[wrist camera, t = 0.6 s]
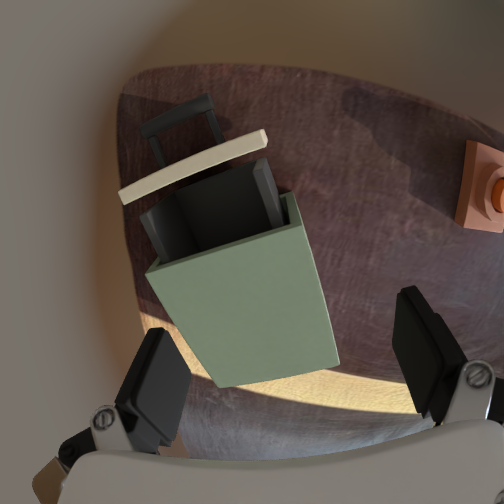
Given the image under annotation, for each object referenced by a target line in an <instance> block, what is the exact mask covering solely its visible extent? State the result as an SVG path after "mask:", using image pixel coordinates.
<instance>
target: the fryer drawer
mask: <svg viewBox="0 0 504 504" xmlns="http://www.w3.org/2000/svg"><path fill="white" fill-rule="evenodd" d="M214 108H215V105H214V102H213V99H212V97H211V96H210V94H209V93H205V94H203V95H201V96H198V97H196V98H194V99H192V100H189V101H187V102H185V103H183V104H181V105H179V106H177V107H174V108H172V109H170V110H168V111H166V112H164V113H162V114H160V115H158V116H157V117H155V118H153V119H151V120H149V121H147V122H145V123H143V124H142V125H140V132H141V134H142V136H143V137H144V138H145V139H148V140H149V143H150V145H151V148H152V150H153V153H154V155H155V157H156V160H157V162H158V165H159V167H160V169H161V170H159V171H157V172H155V173H153V174H151V175H149V176H146V177H144V178H142V179H140V180H138V181H136V182H134V183H133V184H131V185H129V186H127V187H125V188H123V189H121V190H119V191H118V194H119V196H120V198H121V200H122V203H123V205H125V204H127V203H129V202H131V201H134V200H136V199H138V198H140V197H142V196H144V195H146V194H148V193H150V192H153V191H155V190H157V189H159V188H161V187H164V186H166V185H168V184H170V183H173V182H175V181H177V180H180V179H182V178H184V177H187V176H189V175H192V174H194V173H196V172H199V171H201V170H204V169H206V168H209V167H212V166H214V165H217V164H219V163H222V162H225V161H227V160H230V159H233V158H235V157H238V156H241V155H244V154H246V153H249V152H252V151H255V150H258V149H261V148H264V147H266V145H267V141H268V139H267V136H266V134H265V131H264V129H261V130H258V131H255V132H252V133H249V134H246V135H243V136H241V137H238V138H235V139H232V140H230V141H227V142H226V141H225V139H224V136H223V134H222V131H221V129H220V126H219V124H218V121H217V119H216V116H215V114H214V111H213V110H212V109H214ZM203 113H205V116H206V118H207V121H208V123H209V126H210V128H211V131H212V133H213V136H214V138H215V141H216V143H217V146H214V147H212V148H209V149H207V150H204V151H202V152H200V153H197V154H195V155H192V156H190V157H188V158H185V159H183V160H181V161H179V162H176V163H174V164H172V165H170V166H169V165H168V162H167V160H166V157H165V155H164V153H163V150H162V148H161V145H160V143H159V140H158V138H157V136H155V135H157V134H159V133H161V132H163V131H165V130H168V129H170V128H172V127H174V126H176V125H178V124H180V123H182V122H184V121H187V120H189V119H191V118H193V117H196V116H198V115H200V114H203ZM139 218H140V220H141V222H142V224H143V226H144V228H145V231H146V233H147V235H148V237H149V239H150V241H151V243H152V245H153V246H154V248H155V250H156V252H157V254H158V256H159V258H160V260H161V262H162V264H166V263H169V262H172V261H176V260H179V259H182V258H185V257H188V256H191V255H194V254H197V253H200V252H203V251H207V250H210V249H213V248H216V247H219V246H222V245H225V244H229V243H232V242H235V241H238V240H241V239H244V238H248V237H251V236H254V235H257V234H260V233H264V232H267V231H270V230H273V229H277V228H280V227H283V226H286V225H289V222H288V219H287V216H286V213H285V210H284V207H283V204H282V201H281V198H280V196H279V193H278V190H277V187H276V184H275V181H274V178H273V176H272V173H271V170H270V167H269V165H268V162H267V159H266V157H262V158H259V159H256V160H254V161H251V162H248V163H245V164H242V165H239V166H237V167H234V168H231V169H228V170H226V171H223V172H220V173H218V174H215V175H212V176H210V177H207V178H205V179H202V180H200V181H197V182H195V183H192V184H190V185H187V186H185V187H182V188H180V189H178V190H175V191H173V192H171V193H169V194H168V195H166V196H165V197H164V198H162V199H161V200H160V201H158V202H157V203H156V204H154V205H153V206H152V207H150V208H149V209H148V210H146V211H145V212H144V213H143V214H141V215H140V216H139Z"/></svg>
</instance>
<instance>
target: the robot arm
mask: <svg viewBox="0 0 504 504" xmlns="http://www.w3.org/2000/svg"><path fill="white" fill-rule="evenodd" d="M392 346H393V350H394V352H395V355H396V357H397V360H398V362H399V365H400V367H401V370H402V373H403V375H404V378H405V380H406V383H407V386H408V389H409V391H410V394H411V397H412V400H413V403H414V406H415V409H416V411H417V413H418V414H419V413H421V414H422V417H423V419H424V418H427V417H430V416H432V419H433V421H434V422H435V423H434V425H433V428H431V429H427V430H424V431H421V432H418V433H415V434H411V435H408V436H405V437H402V438H398V439H394V440H391V441H387V442H383V443H379V444H375V445H371V446H367V447H362V448H358V449H353V450H348V451H343V452H337V453H331V454H325V455H318V456H310V457H302V458H292V459H279V460H259V461H222V460H202V459H189V458H179V457H171V456H162V455H160V453H159V451H158V446H159V445H160V446H167V447H170V446H171V443H172V441H174V440H175V438H176V434H177V430H178V426H179V423H180V419H181V415H182V411H183V407H184V403H185V400H186V396H187V392H188V389H189V385H190V381H191V371H190V369H189V367H188V365H187V364H186V362H185V360H184V359H183V357H182V355H181V353H180V352H179V350H178V348H177V346H176V345H175V343H174V341H173V339H172V337H171V335H170V334H169V332H168V331H167V330H165V329H164V328H162V327H159V328H150V329H149V330H148V332H147V334H146V336H145V338H144V340H143V342H142V344H141V346H140V348H139V350H138V352H137V354H136V356H135V358H134V360H133V362H132V365H131V367H130V369H129V371H128V373H127V375H126V377H125V379H124V382H123V384H122V386H121V388H120V390H119V393H118V395H117V397H116V399H115V403H116V405H115V407H113V406H111V405H104V406H101V407H99V408H98V409H96V410H95V411H94V412H93V414H92V416H91V418H90V427H89V428H87V429H85V430H84V431H82V432H80V433H78V434H76V435H75V436H73V437H71V438H69V439H67V440H66V441H65V442H63V444H62V445H61V446H60V448H59V452H58V454H59V458H57V457H54V458H53V459H52V460H51V461H50V462H49V463H48V464H47V465H46V466H45V467H44V468H43V469H42V470H41V471H40V472H39V473H38V474H37V475H36V476H35V477H34V478H33V482H32V487H33V490H34V492H35V494H36V496H37V497H38V499H39V501H40V503H41V504H504V380H503V379H500V378H497V377H495V370H494V368H493V367H492V365H491V364H490V363H489V362H487V361H485V360H483V359H472V360H470V361H468V360H467V358H466V356H465V355H464V353H463V351H462V349H461V348H460V346H459V344H458V343H457V341H456V339H455V338H454V336H453V335H452V333H451V331H450V330H449V328H448V327H447V325H446V324H445V322H444V320H443V319H442V317H441V316H440V315H439V314H438V313H434V312H433V310H432V309H431V307H430V306H429V304H428V303H427V301H426V300H425V298H424V297H423V295H422V294H421V292H420V291H419V290H418V288H417V287H416V286H415V285H414V286H410V287H406V288H402V289H401V292H400V293H398V294H397V300H396V311H395V321H394V330H393V338H392Z"/></svg>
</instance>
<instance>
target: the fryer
mask: <svg viewBox="0 0 504 504" xmlns="http://www.w3.org/2000/svg"><path fill="white" fill-rule="evenodd" d="M279 196H280V198H281V201H282V204H283V207H284V210H285V213H286V216H287V219H288V222H289V225H286V226H283V227H280V228H277V229H273V230H270V231H267V232H264V233H260V234H257V235H254V236H251V237H248V238H244V239H241V240H238V241H235V242H232V243H229V244H225V245H222V246H219V247H216V248H213V249H210V250H207V251H203V252H200V253H197V254H194V255H191V256H188V257H185V258H182V259H179V260H176V261H172V262H169V263H166V264H162V262H161V260H160V258H159V256H158V257H157V258H156V260H155V261H154V262H153V264H152V265H151V266H150V268H149V269H148V270H147V272H146V273H145V276H146V278H147V279H148V281H149V283H150V285H151V286H152V288H153V290H154V292H155V293H156V295H157V297H158V298H159V300H160V302H161V303H162V305H163V307H164V308H165V310H166V311H167V313H168V315H169V316H170V318H171V319H172V321H173V323H174V324H175V326H176V327H177V329H178V330H179V332H180V333H181V335H182V336H183V338H184V340H185V341H186V343H187V344H188V345H189V347H190V348H191V350H192V351H193V353H194V354H195V356H196V357H197V359H198V360H199V361H200V363H201V364H202V366H203V367H204V369H205V370H206V371H207V373H208V374H209V375H210V377H211V378H212V380H213V381H214V382H215V384H216V385H217V386H218V388H224V387H232V386H239V385H246V384H252V383H258V382H264V381H270V380H275V379H281V378H286V377H291V376H296V375H300V374H305V373H309V372H313V371H318V370H322V369H326V368H330V367H334V366H337V365H340V362H339V357H338V353H337V348H336V344H335V339H334V335H333V331H332V326H331V322H330V318H329V314H328V310H327V306H326V302H325V298H324V294H323V291H322V287H321V283H320V280H319V276H318V273H317V269H316V265H315V262H314V259H313V255H312V252H311V248H310V245H309V241H308V238H307V235H306V232H305V228H304V225H303V222H302V219H301V215H300V212H299V209H298V206H297V203H296V200H295V197H294V194H293V191H291V192H288V193H285V194H282V195H279Z"/></svg>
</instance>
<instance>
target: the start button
mask: <svg viewBox="0 0 504 504" xmlns="http://www.w3.org/2000/svg"><path fill="white" fill-rule="evenodd" d="M491 201H492V204H493V206H494V208H495V209H497V210H499V211H500V212H502V213H504V180H503V179H500V180H498V181H497V182H496V183H495V185H494V186H493V189H492V195H491Z"/></svg>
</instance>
